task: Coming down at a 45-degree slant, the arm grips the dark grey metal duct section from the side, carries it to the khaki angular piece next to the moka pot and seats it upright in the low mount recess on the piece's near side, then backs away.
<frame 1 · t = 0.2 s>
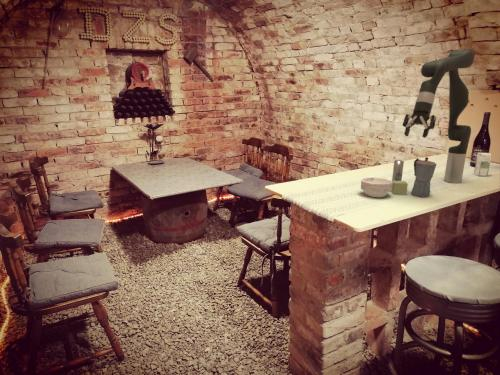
hand: (414, 136, 168), 31 cm above the table, tool tilted 20°, fingers open, 8 cm apart
paper bowls: (375, 195, 183), on the table
duct: (396, 185, 202), on the table
syrup box: (480, 175, 227), on the table
moka pot: (419, 195, 183), on the table
khaki angular piece: (395, 190, 191), on the table
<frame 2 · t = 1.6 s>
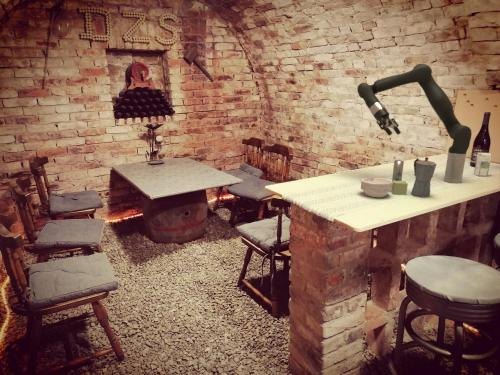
hand: (395, 134, 197), 29 cm above the table, tool tilted 45°, fingers open, 8 cm apart
nothing on the table moved.
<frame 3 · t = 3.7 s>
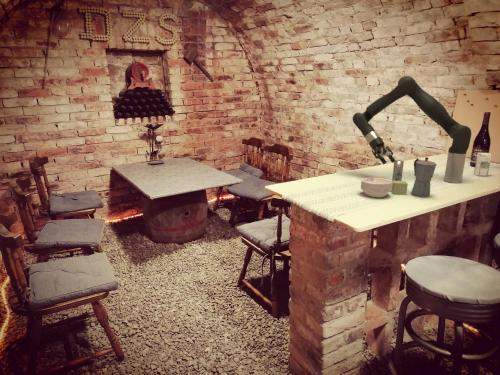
hand: (389, 162, 204), 12 cm above the table, tool tilted 45°, fingers open, 8 cm apart
nothing on the table moved.
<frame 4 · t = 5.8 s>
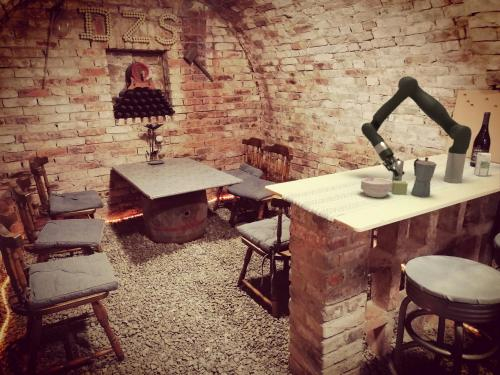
hand: (400, 175, 199), 6 cm above the table, tool tilted 45°, fingers closed on duct, 5 cm apart
duct: (396, 185, 202), on the table, touching gripper
everything else where it was.
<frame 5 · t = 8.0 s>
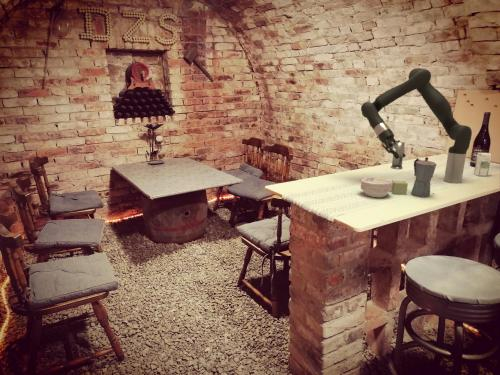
hand: (401, 157, 188), 18 cm above the table, tool tilted 45°, fingers closed on duct, 5 cm apart
duct: (396, 168, 191), point 12 cm above the table, touching gripper
everything else where it was.
when the fingers open (8 cm above the table, at t = 10.2 s): duct drops 1 cm, resting in khaki angular piece.
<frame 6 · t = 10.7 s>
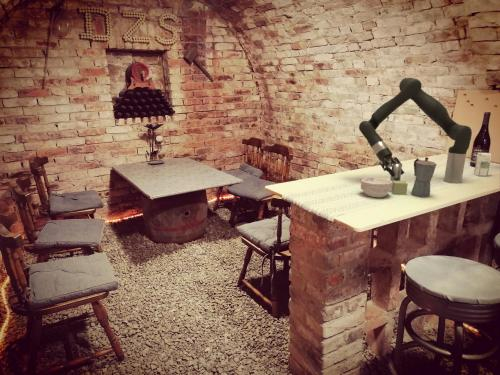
hand: (398, 174, 191), 8 cm above the table, tool tilted 45°, fingers open, 8 cm apart
duct: (394, 188, 194), resting in khaki angular piece
everything else where it was.
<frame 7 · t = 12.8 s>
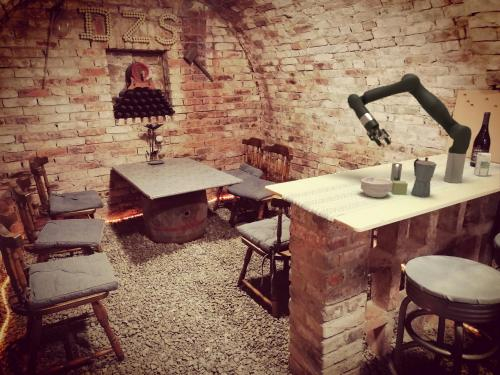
hand: (385, 144, 197), 23 cm above the table, tool tilted 45°, fingers open, 8 cm apart
nothing on the table moved.
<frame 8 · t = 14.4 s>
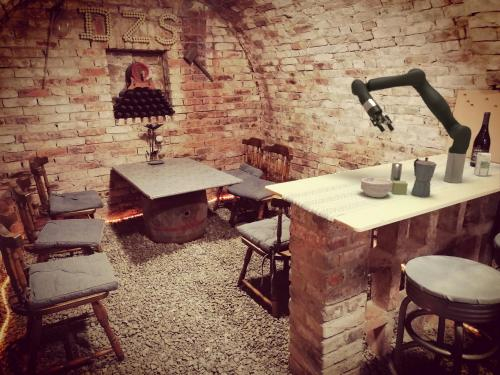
hand: (388, 130, 195), 31 cm above the table, tool tilted 45°, fingers open, 8 cm apart
nothing on the table moved.
at the end: duct 0.2 cm from the target spot on the khaki angular piece, point 0.0 cm above the khaki angular piece's base; duct tilted 0°; the gripper is holding nothing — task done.
